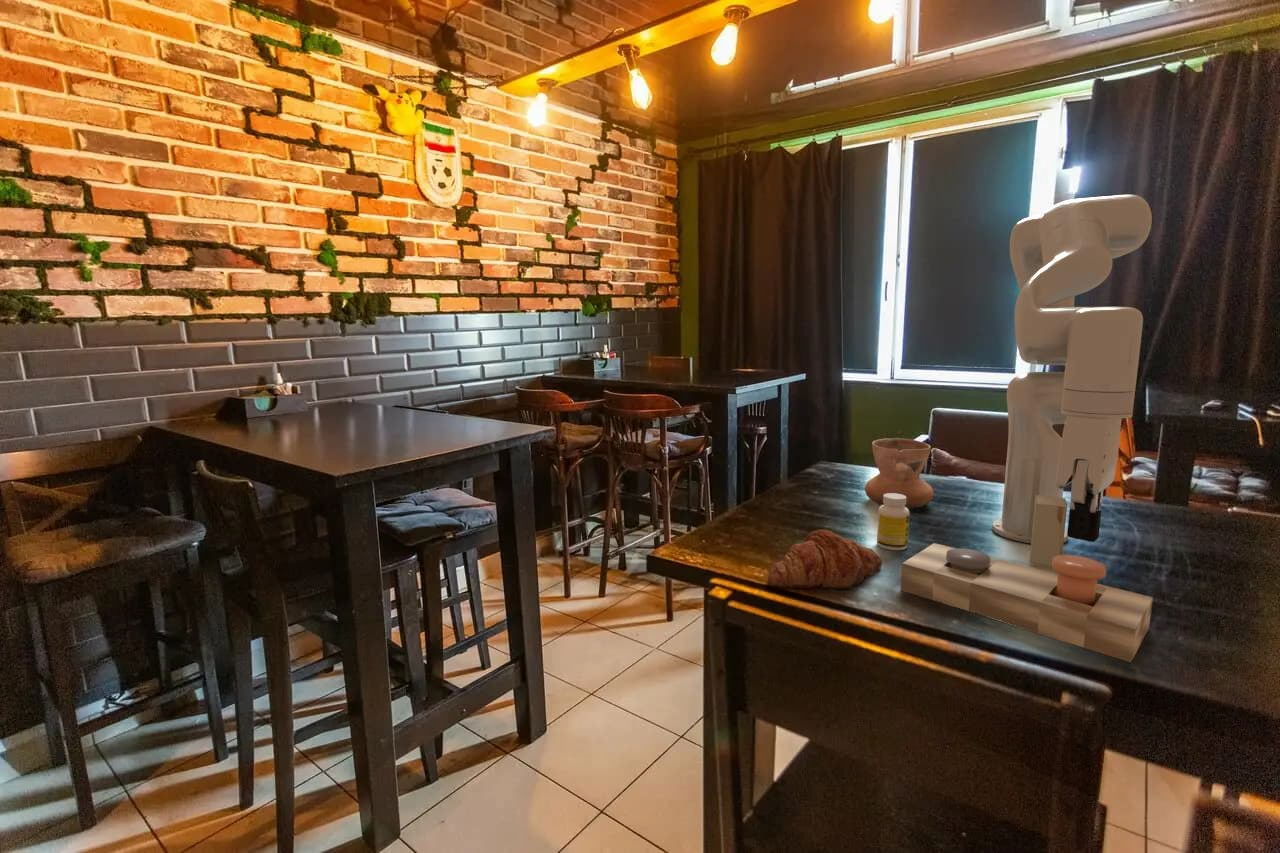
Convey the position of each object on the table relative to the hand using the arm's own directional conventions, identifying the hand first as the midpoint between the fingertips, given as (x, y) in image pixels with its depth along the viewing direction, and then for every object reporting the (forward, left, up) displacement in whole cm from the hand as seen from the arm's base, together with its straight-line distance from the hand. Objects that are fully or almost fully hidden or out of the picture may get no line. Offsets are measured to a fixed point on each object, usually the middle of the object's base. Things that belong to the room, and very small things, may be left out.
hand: (1082, 537), depth 82 cm
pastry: (+9, -33, -13) cm, 37 cm away
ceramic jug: (-37, -42, -13) cm, 58 cm away
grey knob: (0, -14, -12) cm, 19 cm away
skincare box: (-18, -8, -13) cm, 24 cm away
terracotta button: (0, 0, -9) cm, 9 cm away
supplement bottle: (-11, -31, -13) cm, 36 cm away
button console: (0, -7, -13) cm, 15 cm away
